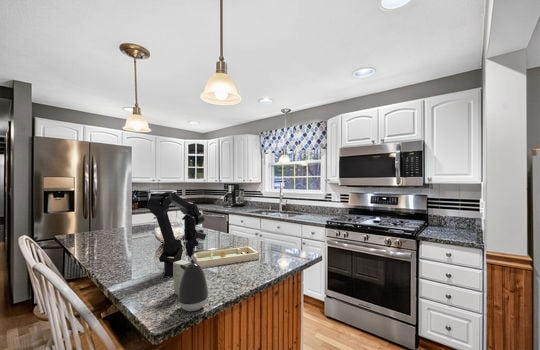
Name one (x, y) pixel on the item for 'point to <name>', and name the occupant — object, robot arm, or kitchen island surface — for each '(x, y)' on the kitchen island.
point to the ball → (222, 254)
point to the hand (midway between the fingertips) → (189, 256)
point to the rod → (208, 251)
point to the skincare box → (178, 273)
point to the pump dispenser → (192, 288)
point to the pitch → (231, 256)
